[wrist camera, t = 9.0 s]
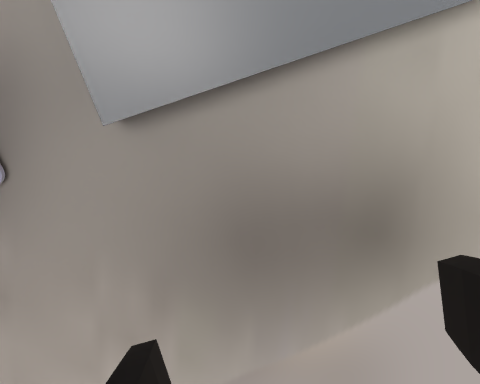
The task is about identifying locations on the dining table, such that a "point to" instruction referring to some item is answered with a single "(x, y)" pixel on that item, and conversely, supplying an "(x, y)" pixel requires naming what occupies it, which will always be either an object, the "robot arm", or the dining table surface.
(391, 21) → the hole board
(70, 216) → the dining table surface
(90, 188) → the dining table surface
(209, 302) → the dining table surface
